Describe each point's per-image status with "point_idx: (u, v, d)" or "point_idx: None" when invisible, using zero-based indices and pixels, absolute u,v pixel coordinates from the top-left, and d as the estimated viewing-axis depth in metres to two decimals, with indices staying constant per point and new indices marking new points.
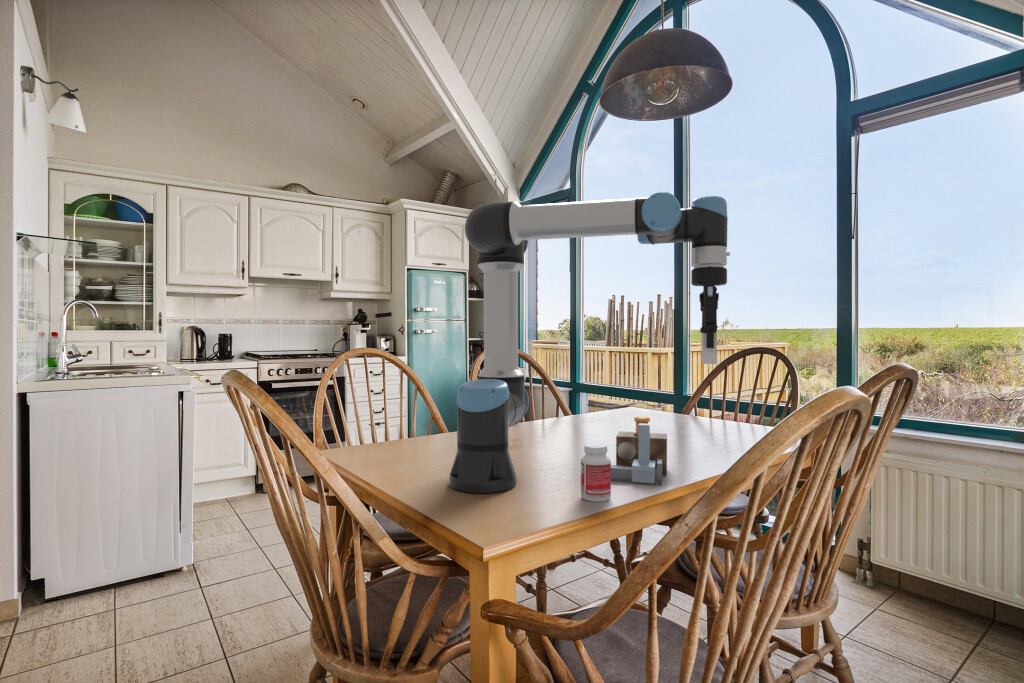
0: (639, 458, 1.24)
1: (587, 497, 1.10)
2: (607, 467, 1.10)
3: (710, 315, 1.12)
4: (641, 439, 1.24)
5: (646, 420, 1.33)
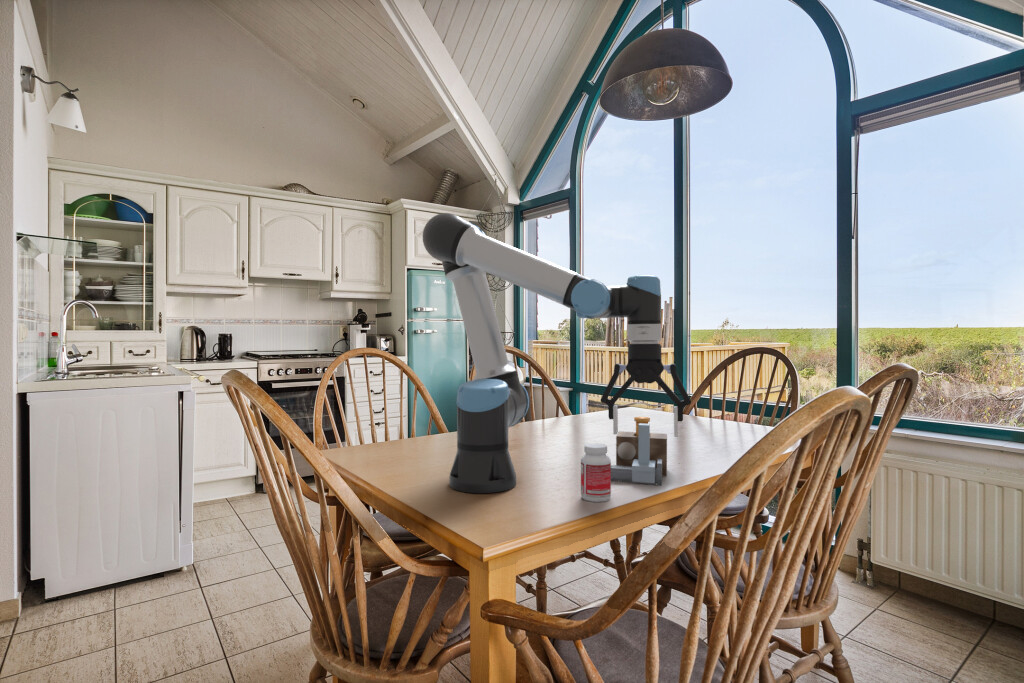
0: (639, 458, 1.24)
1: (587, 497, 1.10)
2: (607, 467, 1.10)
3: None
4: (641, 439, 1.24)
5: (646, 420, 1.33)
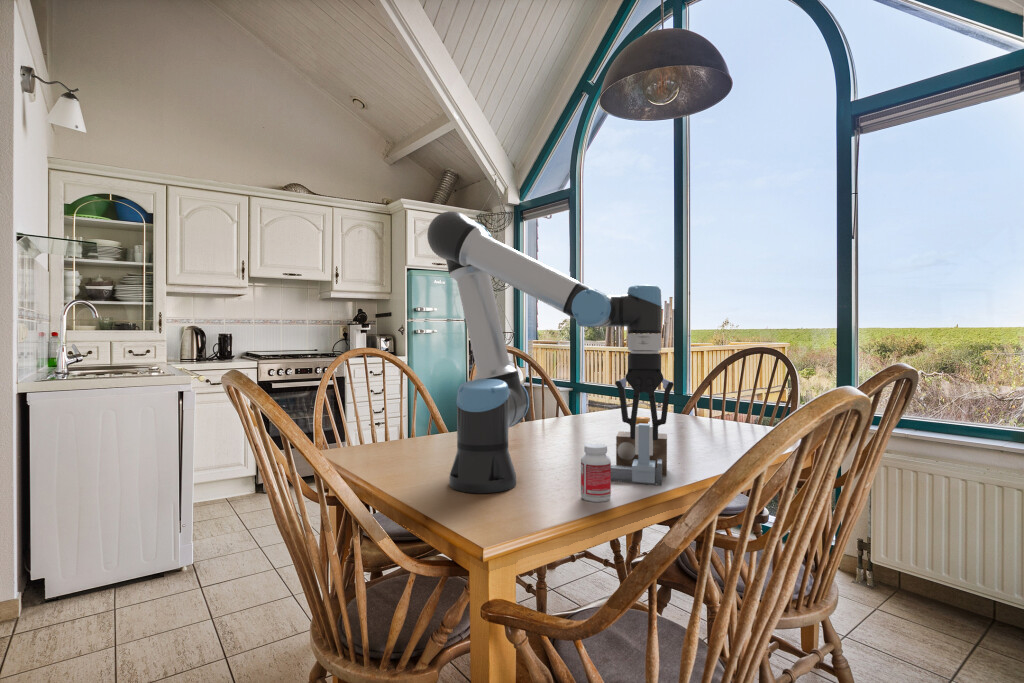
0: (639, 458, 1.24)
1: (587, 497, 1.10)
2: (607, 467, 1.10)
3: None
4: (641, 439, 1.24)
5: (646, 420, 1.33)
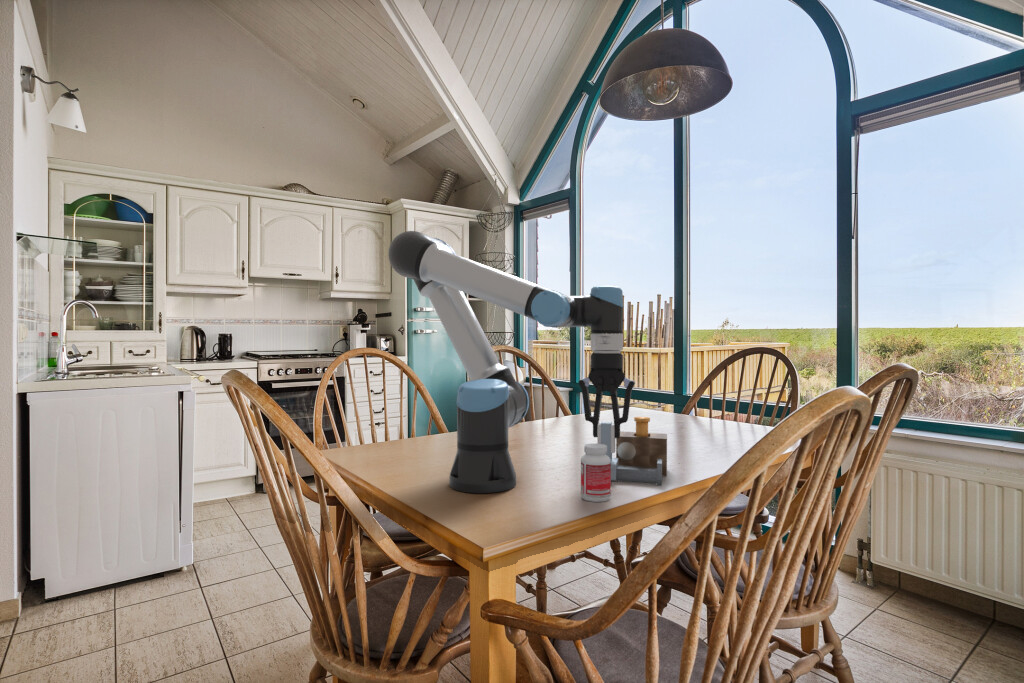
0: None
1: (587, 497, 1.10)
2: (607, 467, 1.10)
3: None
4: (603, 437, 1.26)
5: (646, 420, 1.33)
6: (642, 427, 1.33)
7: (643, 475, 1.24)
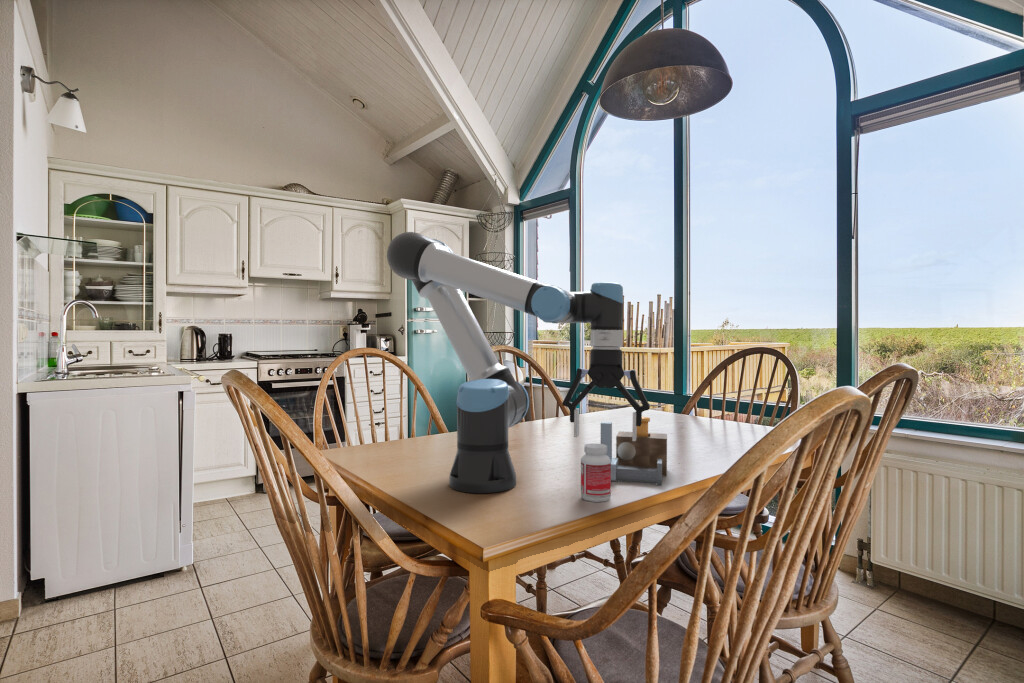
0: None
1: (587, 497, 1.10)
2: (607, 467, 1.10)
3: None
4: (603, 437, 1.26)
5: (646, 420, 1.33)
6: (642, 427, 1.33)
7: (643, 475, 1.24)
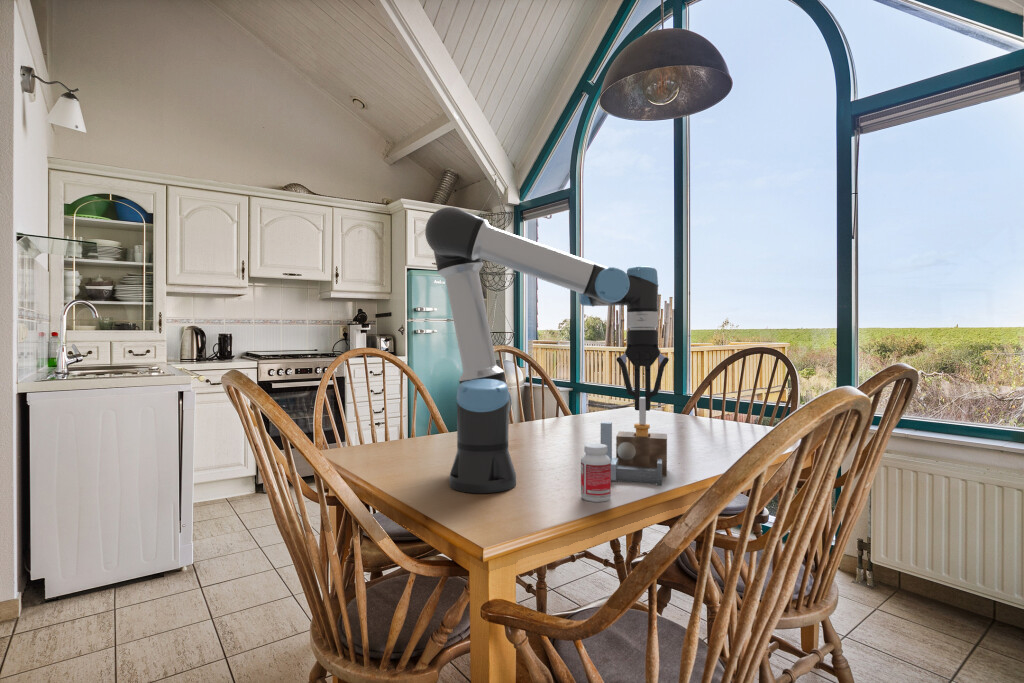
0: None
1: (587, 497, 1.10)
2: (607, 467, 1.10)
3: None
4: (603, 437, 1.26)
5: (646, 427, 1.33)
6: (642, 434, 1.33)
7: (643, 475, 1.24)
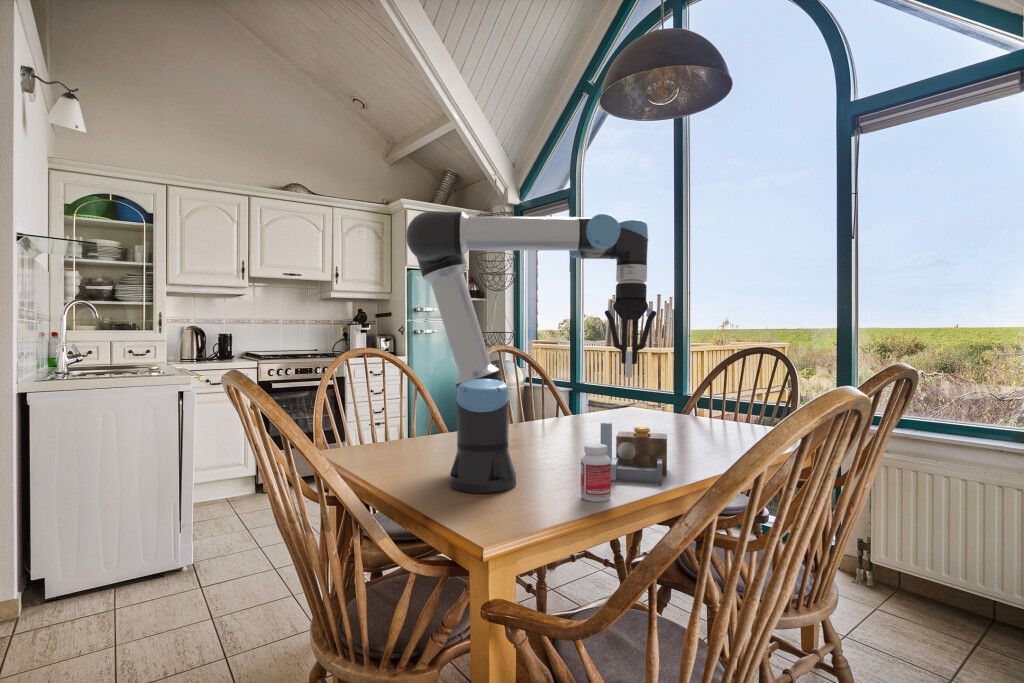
0: None
1: (587, 497, 1.10)
2: (607, 467, 1.10)
3: None
4: (603, 437, 1.26)
5: (646, 430, 1.33)
6: None
7: (643, 475, 1.24)
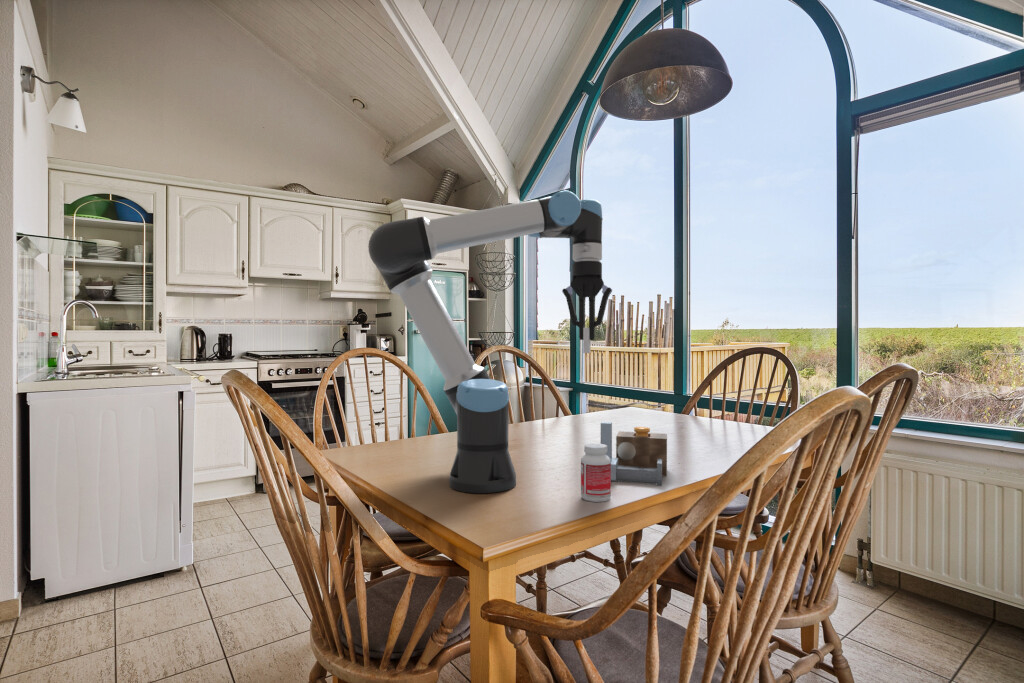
0: None
1: (587, 497, 1.10)
2: (607, 467, 1.10)
3: None
4: (603, 437, 1.26)
5: (646, 430, 1.33)
6: None
7: (643, 475, 1.24)
